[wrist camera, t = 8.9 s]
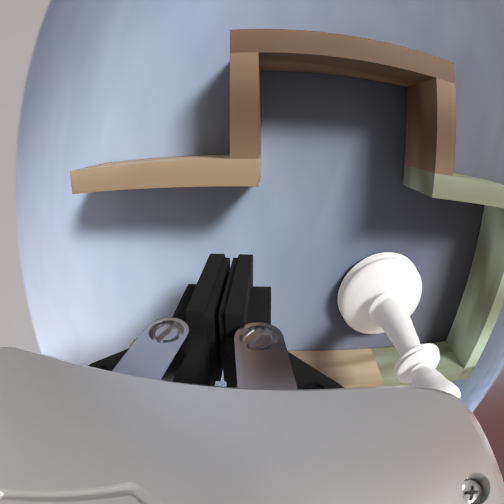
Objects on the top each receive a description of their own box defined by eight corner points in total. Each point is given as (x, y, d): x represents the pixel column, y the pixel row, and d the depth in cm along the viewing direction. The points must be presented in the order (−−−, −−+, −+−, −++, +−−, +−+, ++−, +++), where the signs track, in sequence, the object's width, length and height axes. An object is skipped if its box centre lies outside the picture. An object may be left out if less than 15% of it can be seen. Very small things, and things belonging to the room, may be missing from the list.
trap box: (103, 71, 11) (69, 62, 8) (500, 101, 10) (533, 101, 7) (152, 398, 19) (141, 427, 17) (428, 395, 18) (440, 422, 16)
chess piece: (347, 338, 16) (386, 493, 7) (326, 271, 14) (381, 454, 5) (421, 309, 15) (496, 443, 6) (412, 238, 13) (533, 375, 4)
